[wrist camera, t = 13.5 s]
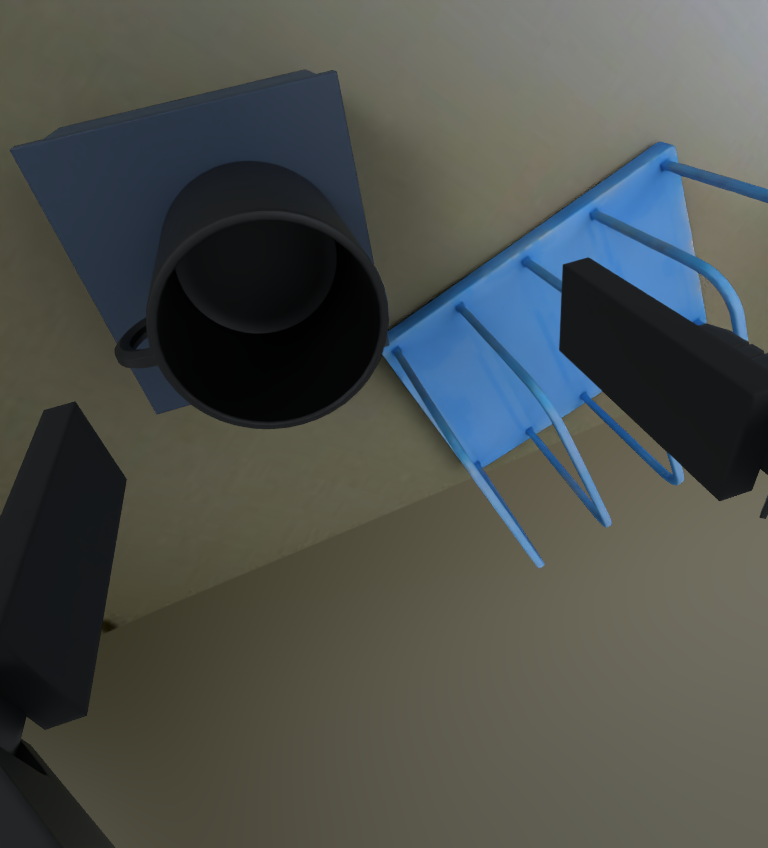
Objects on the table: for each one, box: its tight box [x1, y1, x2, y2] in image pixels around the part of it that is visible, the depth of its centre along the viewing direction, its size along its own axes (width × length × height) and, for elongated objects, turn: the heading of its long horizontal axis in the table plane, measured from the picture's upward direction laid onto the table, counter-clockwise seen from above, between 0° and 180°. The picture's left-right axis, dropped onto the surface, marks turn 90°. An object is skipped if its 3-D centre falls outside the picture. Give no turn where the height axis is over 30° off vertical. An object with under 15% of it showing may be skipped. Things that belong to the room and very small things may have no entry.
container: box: [10, 70, 390, 414], centre depth 32 cm, size 15×15×8 cm
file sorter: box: [382, 142, 768, 568], centre depth 40 cm, size 25×17×15 cm
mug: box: [115, 161, 389, 429], centre depth 25 cm, size 9×12×9 cm
